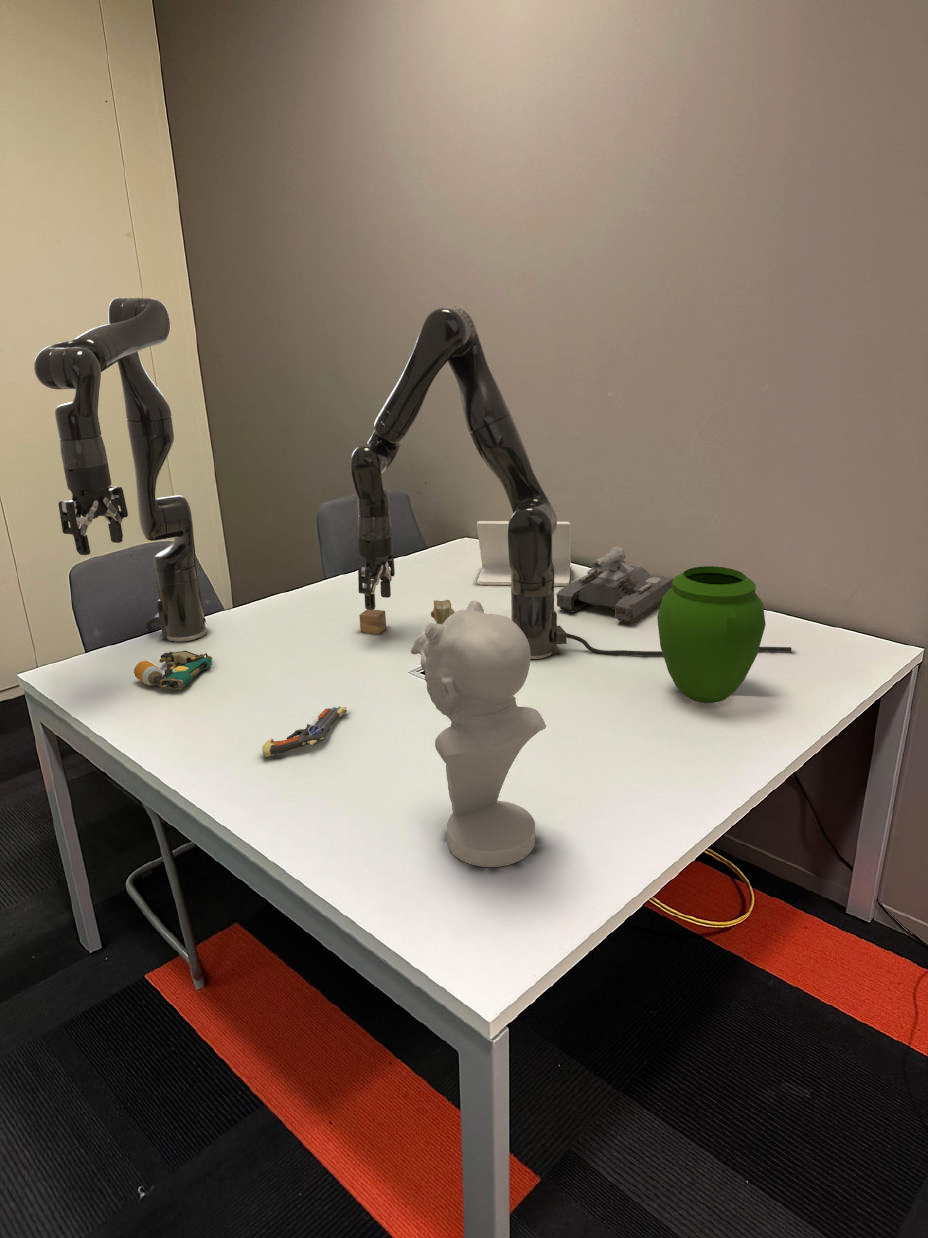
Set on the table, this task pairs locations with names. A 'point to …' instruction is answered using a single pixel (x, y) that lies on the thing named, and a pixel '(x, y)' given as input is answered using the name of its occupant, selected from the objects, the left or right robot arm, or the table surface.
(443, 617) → the sculpture
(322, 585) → the table surface
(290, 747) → the toy gun
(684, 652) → the vase
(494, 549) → the tablet stand
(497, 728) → the bust sculpture
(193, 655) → the spray gun
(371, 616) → the block
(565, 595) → the toy
